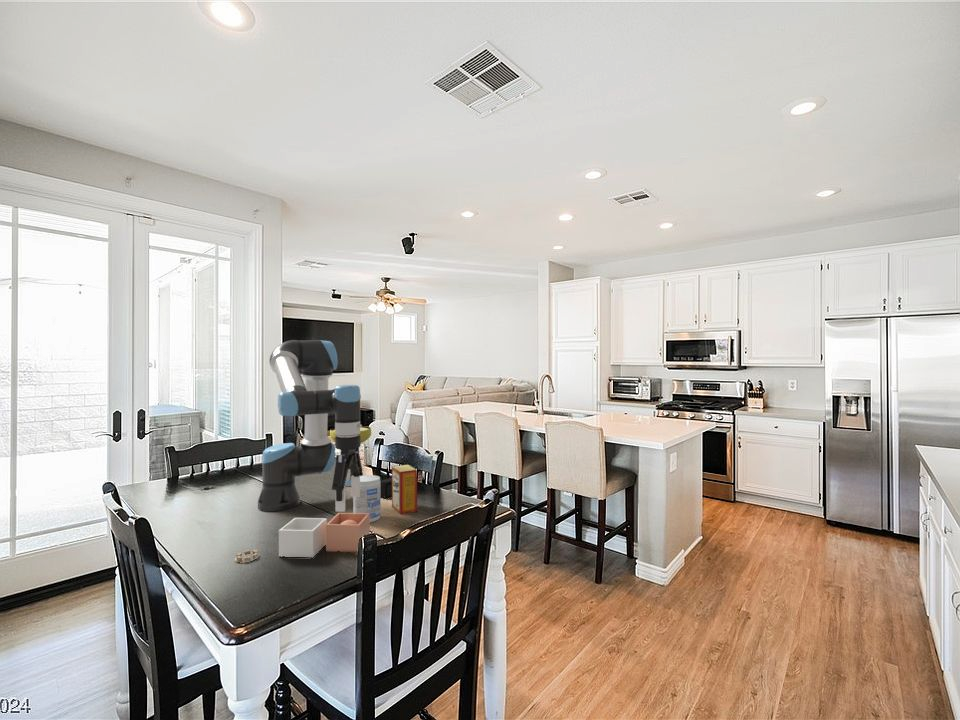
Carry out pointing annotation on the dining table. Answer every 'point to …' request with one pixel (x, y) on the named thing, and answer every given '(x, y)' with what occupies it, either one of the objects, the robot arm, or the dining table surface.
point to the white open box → (302, 537)
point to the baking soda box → (404, 488)
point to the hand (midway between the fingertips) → (348, 503)
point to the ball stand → (239, 558)
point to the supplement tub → (369, 497)
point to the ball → (349, 522)
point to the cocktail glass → (365, 434)
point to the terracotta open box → (346, 531)
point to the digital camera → (386, 488)
